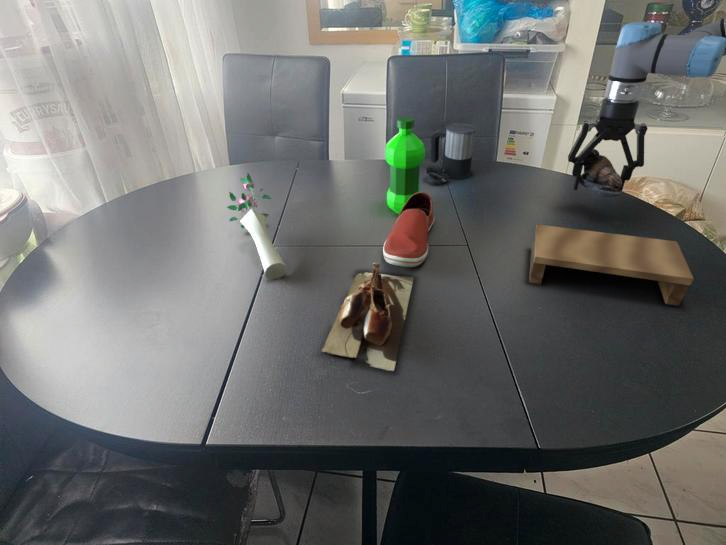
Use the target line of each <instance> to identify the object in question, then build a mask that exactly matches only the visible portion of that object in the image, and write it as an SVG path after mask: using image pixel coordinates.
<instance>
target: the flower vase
mask: <svg viewBox="0 0 726 545" xmlns="http://www.w3.org/2000/svg"><path fill="white" fill-rule="evenodd" d="M238 179H239V180H240V181H241V183H242V185H241V186H242V187H243V189H244V190H246V191H249V192H250V191H251V193H252V195H253V196H252V195H251V196H250V194H245V193H244V192H241V195H240V197H239V199H238V200H237V197H236V196H235V194H234V193H233V192H231V191H228V196H229V198H230V200H231V201H232V202H236V203H237V205H236V204H232V205H231V204H230V205H227V206H226V208H227V209H228V210H231V211H237V212H240V211H241V213H243V212H244V213H245V215H244V216H243V217H242V218H241V219H240V218H238V217H237V216H232V217H230V218H228V220H227V222H233V221H238V220H239V222H240V223H241V224H240V228H241V229H244V228H245V229H246V230H247V232H248V233H249V235H250V236H251V238H252V239H253V242H254V244H255V246H256V250H257V253H258V256H259V259H260V262H261V265H262V269H263V272H264V276H265V277H266V278H267V279H269V280H277V279H281V277H282V276H284V275H285V273H286V271H287V267H286V264H285V263H284V261H283V259H282V258H281V256H280V255H279V253H278V252H277V250H276V248H275V246H274V244H273V243H272V240H271V239H270V237H269V234H268V230H267V229H268V228H267V222H266V221H267V220H266V217H267V216H269V213H265V212H264V213H260V212H259V211H257V210H255V209H254V208H258V204H257V203H258V202H257V201H255V200H256V197H255V193H254V191H253V189H254V188H255V183H254V181H253V180H252V177H251V175H250V173H249V172H247V173H246V177H245V178H243V177H240V178H238ZM263 190H264V188H260V189H259V191H258V195H257V197H259V198H261V199H265V200H271V199H272V198H271V197H270V195H268V194H262V196H260V195H261V193H260V192H262V191H263Z"/></svg>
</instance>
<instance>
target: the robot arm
mask: <svg viewBox="0 0 726 545" xmlns="http://www.w3.org/2000/svg"><path fill="white" fill-rule="evenodd" d="M662 27H663V26H662V24H661V23H659V22H656V21H655V22H654V21H653V22H652V21H633V22H628V23H626V24H624V25H623V26H622V28H621V30H620V34H619V37H618V40H617V43H616V45H615V46H614V54H613V59H612V63H611V67H610V70H609V75H608V79H607V83H606V86H605V90H604V91H605V92H604V93H603V97H604V99H603V100H602V102H601V106H600V110H599V114H598V117H597V119H596V120H594V121H588V120H584V121H582V123H581V124H582V125H581V129H580V132H579V134H578V136H577V138H576V140H575V142H574V143H573V146H572V148H571V150H570V151H569V153H568V154H567V162H569V163H572V164H573V167H572V171H571V175H572V177H574V182H573V186H572V187H573V190H574V191H578V188H579V184H580V182H579V180H580V176H581V175H582V172H583V169H584V165H583V163H582V161H583V160H584V159H585V158H586V157H587V156H588V155H589V153H590V152H591V151H592V150H593V149H596V147H597V146H598V145H599V144H600V143H601V142H602V141H613V142H619V141H620V144H621V147H622V150H623V154H624V156H625V159H626V160H625V161H626V163H627V164H623V167H622V170H621V173H620V178H621V179H622V187H621V188H620V189H619V190H621V191H622V192H623V190H624V186H625V184H626V181H630V180H631V178H632V175H633V172H634V170H636V168H642V167H644V165H645V137H646V134H647V131H648V126H647V124H646V123H644V122H643V123H635V118H636V116H637V112H638V108H639V105H640V102H639V100H640V99H641V98H642V95H643V92H644V88H645V85H646V81H647V78H648V75H649V74H654V75H656V74H657V75H666V76H667V75H668V76H677V77H688V78H691V79H695V78H711V77H712V76H714V75H715V74H716V72H717V70H718V69H719V66H720V64H721V61H722V58H723V57H725V56H726V16H725V17H723V18H720V19H718V20H715V21H713V22H710V23H708V24H705V25H701V26H698V27H696V28H694V29H691V30H690V31H689V32H688V33H686V34H665V33H662ZM593 128H595V130H596V133H595V134H594V136H593V137H592V139H591V140H590V141H589V142H588V143H587V144H586V145H585V147H583V149H582V150H581V151H580V149H581V147H582V145H583V144H584V141H585V139H586V138H587V136H588V134H589V133H590V132H591V131H592V129H593ZM633 130H634V132H635V134H636V159H635V160H634V159H633V158H634V157H633V155H632V152H631V150H630V145H629V142H628V139H627V135H628V134H629V133H631V132H632V131H633ZM579 151H580V153H578V152H579ZM577 154H578V155H577Z"/></svg>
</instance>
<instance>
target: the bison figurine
mask: <svg viewBox="0 0 726 545" xmlns="http://www.w3.org/2000/svg"><path fill="white" fill-rule="evenodd" d="M582 163H583V173H581V176H580V180H579V184H580V185H581V186H583V187H584V188H586V189H588V191H591V192H593V193H596V194H597V195H598V196H599V197H601V198H612V197H613V198H614V197H619V196H621V195H622V193H623V190H622V191H621V190H619V189H620V188H621V187H622V179H621V178H620V176H621V174H619V173H617V171H616V169H615V167H614V165H613V164H612V161H611V160H610V159H609V158H608V157H607V156H605V155H602V154H600V152H599V150H597V149H596V148H594V149H593V150H592V151H591V152H590V153H589V155H588V156H587V157H586V158H585V159H584V160H583V161H582Z"/></svg>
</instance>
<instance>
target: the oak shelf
mask: <svg viewBox="0 0 726 545" xmlns="http://www.w3.org/2000/svg"><path fill="white" fill-rule="evenodd" d="M530 248H531V249H530V259H529V278H528V283H531V284H538V285H542V283H543V282H542V281H543V278H544V274H545V270H546V266H552V267H560V268H568V269H573V270H581V271H588V272H596V273H601V274H607V275H613V276H615V275H616V276H621V277H622V276H623V277H628V278H629V277H630V278H636V279H642V280H651V281H657V283H658V286H659V289H660V291H661V295H662V299H663V301H664V304H666V305H670V306H677V307H678V306H680V305H681V303H682V301H683V299H684V297H685V294H686V293H687V291H688V289H689V286H691V285H692V283H693V281H694V278H695V277H694V276H693V274H692V271H691V270H690V267H689V265H688V262H687V260H686V258H685V256H684V253H683V252H682V249H681V247H680V245H679V242H678V241H676V240H667V239H660V238H652V237H644V236H637V235H628V234H627V235H626V234H620V233H611V232H602V231H594V230H585V229H578V228H577V229H576V228H572V227H571V228H570V227H562V226H561V227H560V226H552V225H544V224H536V225H535V230H534V234H533V239H532V244H531V247H530Z"/></svg>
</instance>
